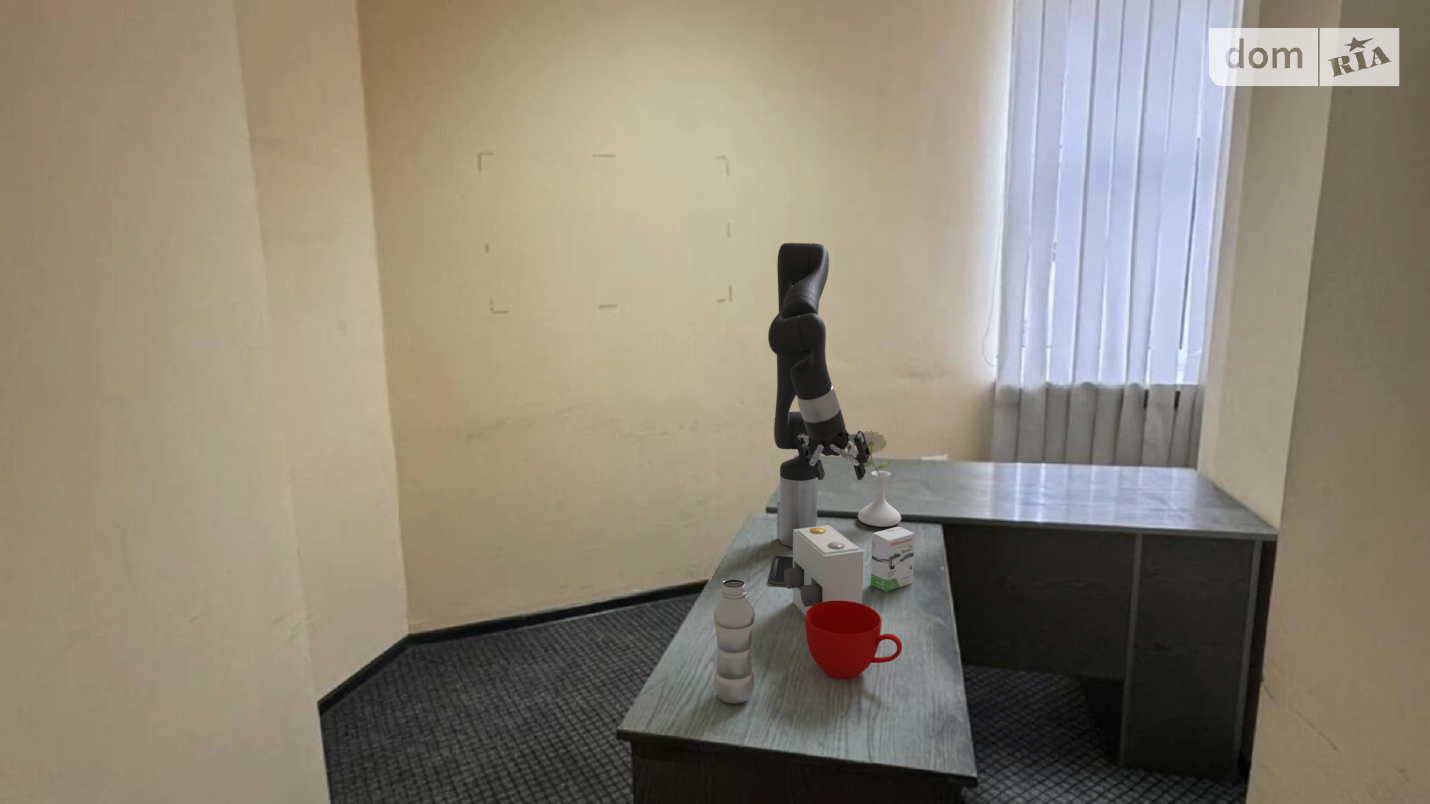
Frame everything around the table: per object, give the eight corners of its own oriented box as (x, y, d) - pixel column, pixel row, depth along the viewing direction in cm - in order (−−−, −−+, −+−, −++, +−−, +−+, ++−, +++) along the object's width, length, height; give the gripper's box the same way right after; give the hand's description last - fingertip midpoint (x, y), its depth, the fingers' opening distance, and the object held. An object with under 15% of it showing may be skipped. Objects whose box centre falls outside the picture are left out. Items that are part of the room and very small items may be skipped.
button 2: (808, 610, 146) (809, 590, 145) (800, 601, 150) (800, 582, 149) (828, 607, 147) (828, 587, 146) (819, 598, 151) (819, 579, 150)
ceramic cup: (886, 706, 124) (888, 648, 122) (791, 676, 133) (792, 623, 131) (912, 669, 135) (914, 616, 133) (822, 644, 143) (823, 594, 142)
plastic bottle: (712, 688, 130) (710, 576, 126) (752, 685, 130) (752, 574, 126) (715, 710, 123) (714, 593, 119) (757, 707, 124) (757, 591, 120)
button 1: (791, 591, 154) (791, 573, 153) (783, 583, 158) (783, 565, 157) (809, 589, 155) (810, 570, 154) (801, 581, 159) (802, 563, 158)
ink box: (885, 592, 165) (887, 540, 162) (869, 584, 169) (870, 533, 167) (914, 583, 169) (916, 531, 167) (897, 575, 174) (898, 525, 171)
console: (823, 635, 147) (824, 553, 143) (792, 602, 161) (793, 527, 157) (861, 629, 149) (863, 548, 146) (827, 597, 163) (829, 522, 160)
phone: (768, 581, 169) (775, 555, 183) (768, 586, 169) (774, 559, 184) (804, 584, 168) (808, 557, 182) (804, 589, 168) (808, 561, 182)
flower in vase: (907, 520, 208) (910, 430, 204) (892, 533, 199) (895, 439, 194) (861, 512, 215) (863, 424, 210) (845, 524, 206) (847, 433, 201)
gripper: (860, 398, 149) (880, 466, 156) (794, 401, 156) (815, 466, 163) (849, 419, 143) (869, 489, 150) (780, 422, 151) (803, 488, 158)
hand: (841, 477), depth 157 cm, fingers open, 8 cm apart
